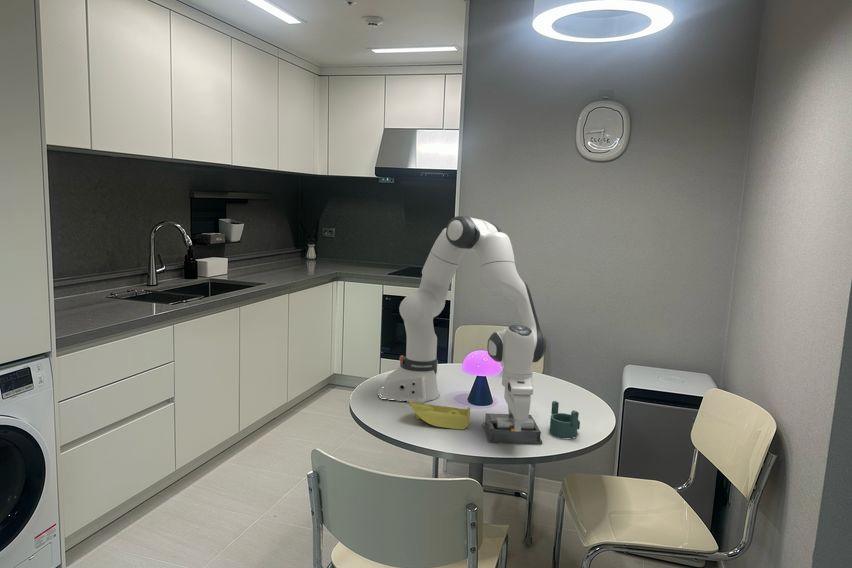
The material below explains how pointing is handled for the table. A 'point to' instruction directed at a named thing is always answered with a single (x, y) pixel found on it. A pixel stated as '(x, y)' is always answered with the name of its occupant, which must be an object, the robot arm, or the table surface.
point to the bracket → (563, 423)
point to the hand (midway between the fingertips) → (514, 424)
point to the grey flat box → (510, 432)
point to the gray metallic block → (509, 423)
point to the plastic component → (442, 415)
